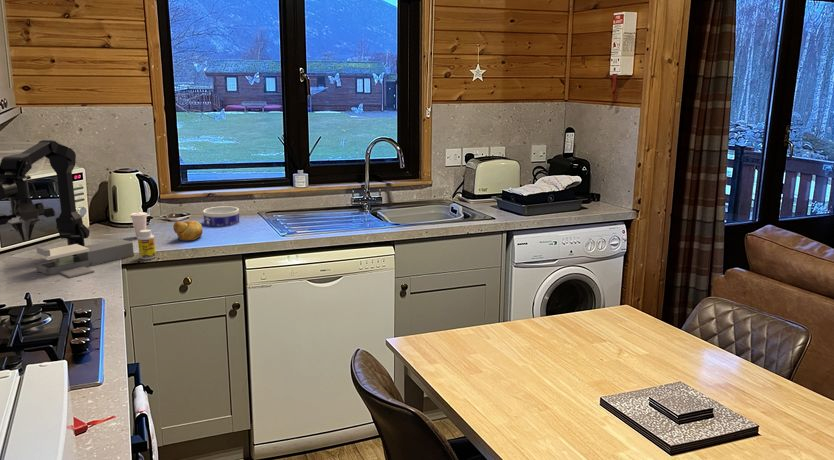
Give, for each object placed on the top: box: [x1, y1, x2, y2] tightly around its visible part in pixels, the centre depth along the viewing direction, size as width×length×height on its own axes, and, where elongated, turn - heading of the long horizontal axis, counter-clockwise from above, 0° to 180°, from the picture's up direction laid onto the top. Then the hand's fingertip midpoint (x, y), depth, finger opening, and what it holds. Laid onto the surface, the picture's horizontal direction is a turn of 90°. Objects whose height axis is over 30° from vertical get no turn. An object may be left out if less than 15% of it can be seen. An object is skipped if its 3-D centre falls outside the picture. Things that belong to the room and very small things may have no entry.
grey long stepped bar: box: [35, 238, 135, 276], centre depth 243 cm, size 9×30×5 cm, turn 140°
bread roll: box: [172, 219, 204, 242], centre depth 277 cm, size 13×10×8 cm
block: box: [53, 255, 74, 267], centre depth 238 cm, size 4×4×4 cm
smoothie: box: [130, 202, 148, 239], centre depth 278 cm, size 6×6×14 cm
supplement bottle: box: [137, 229, 157, 260], centre depth 249 cm, size 6×6×10 cm
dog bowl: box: [202, 205, 240, 227], centre depth 303 cm, size 15×15×6 cm
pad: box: [59, 266, 95, 279], centre depth 232 cm, size 8×8×1 cm
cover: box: [34, 244, 89, 261], centre depth 237 cm, size 10×14×3 cm
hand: (26, 240), depth 227 cm, fingers closed
